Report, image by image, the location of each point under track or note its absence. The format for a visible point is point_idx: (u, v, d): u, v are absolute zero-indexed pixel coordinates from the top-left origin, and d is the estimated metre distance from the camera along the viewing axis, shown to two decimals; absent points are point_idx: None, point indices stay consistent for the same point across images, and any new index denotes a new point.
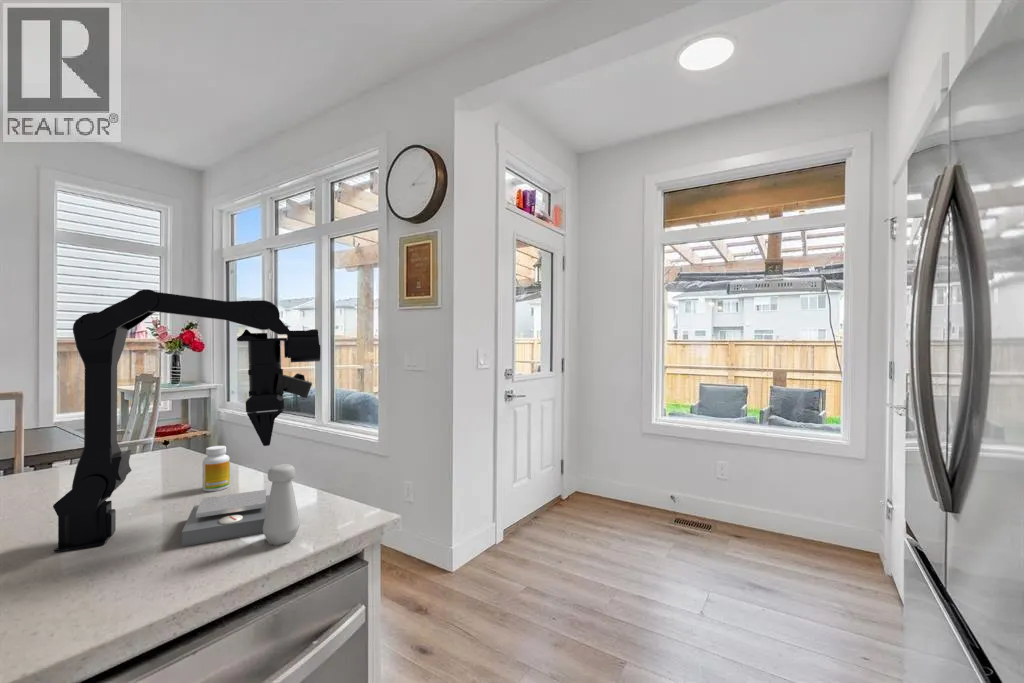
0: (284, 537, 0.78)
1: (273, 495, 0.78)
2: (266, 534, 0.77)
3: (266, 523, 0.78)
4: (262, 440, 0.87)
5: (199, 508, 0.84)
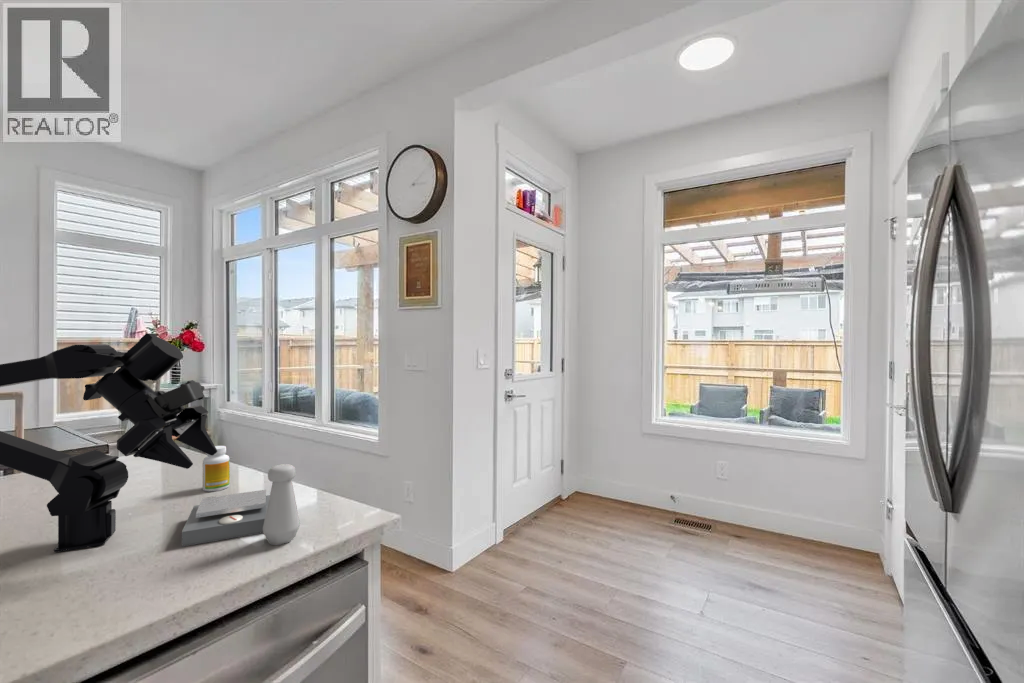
0: (284, 537, 0.78)
1: (273, 495, 0.78)
2: (267, 534, 0.77)
3: (266, 523, 0.78)
4: (180, 465, 0.77)
5: (199, 508, 0.84)
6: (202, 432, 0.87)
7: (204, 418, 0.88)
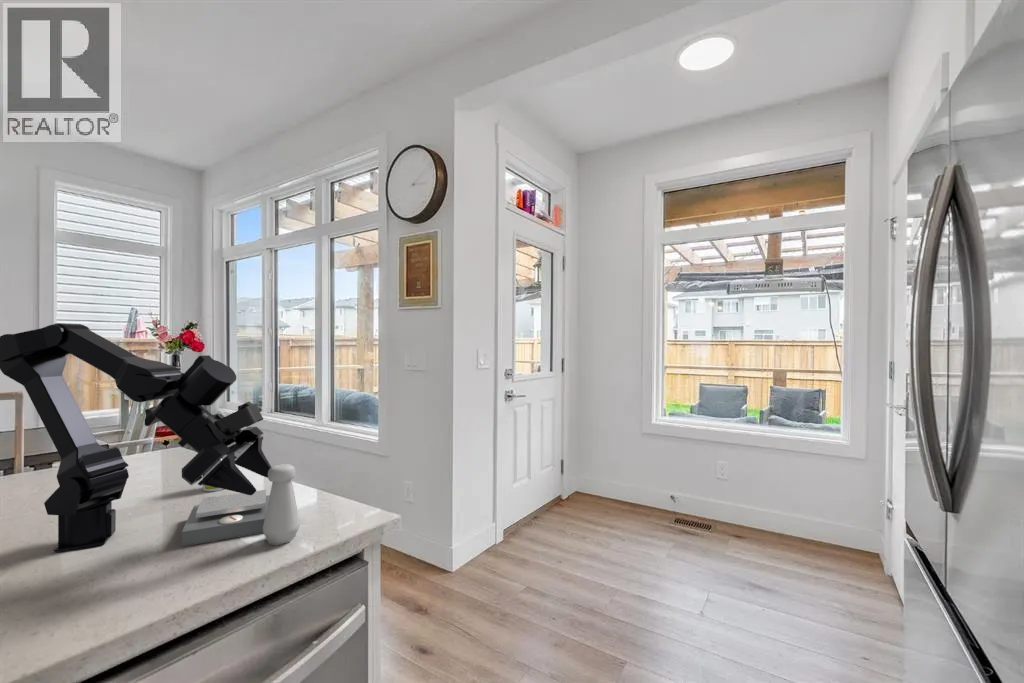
0: (284, 537, 0.78)
1: (273, 495, 0.78)
2: (267, 534, 0.77)
3: (266, 523, 0.78)
4: (244, 492, 0.74)
5: (199, 508, 0.84)
6: (260, 455, 0.84)
7: (260, 440, 0.85)
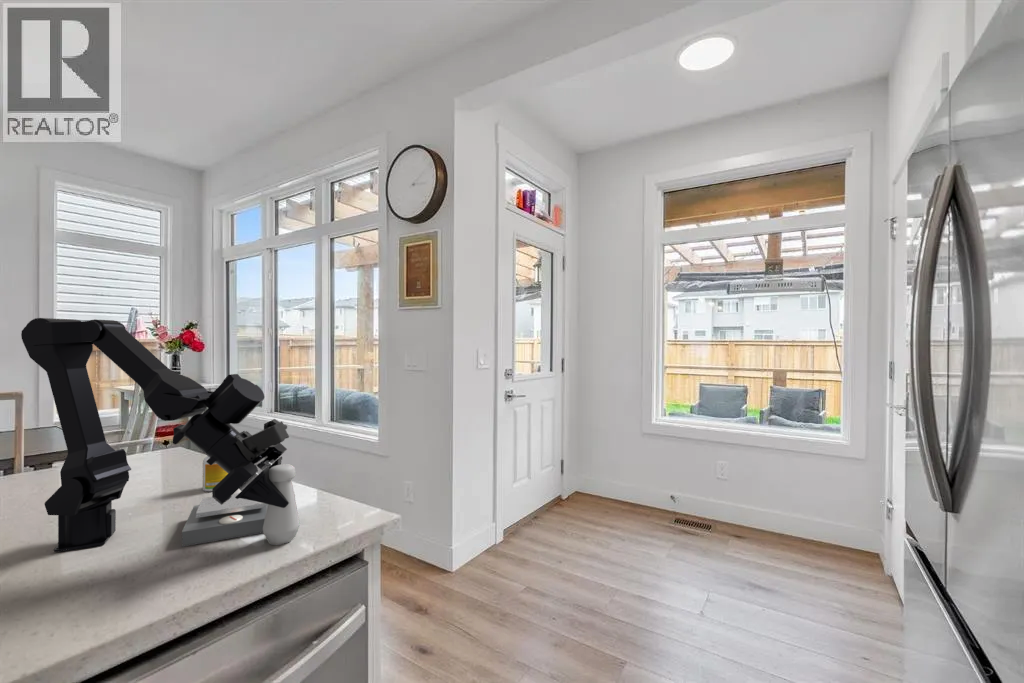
0: (284, 537, 0.78)
1: None
2: (267, 534, 0.77)
3: (266, 523, 0.78)
4: (277, 505, 0.78)
5: (199, 508, 0.84)
6: None
7: (280, 460, 0.83)
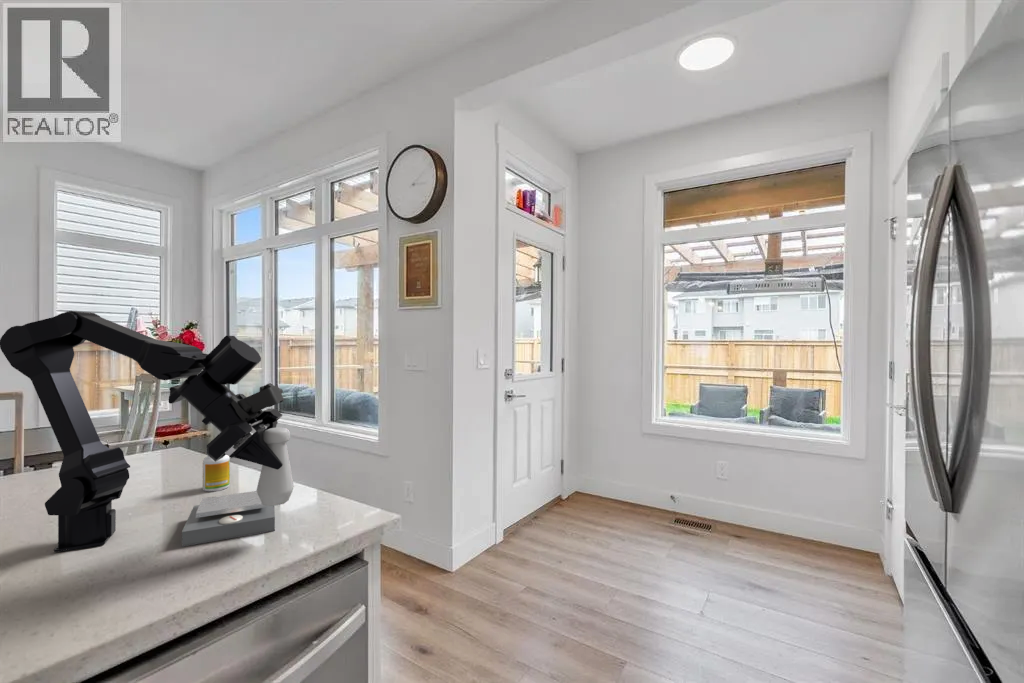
0: (278, 499, 0.79)
1: None
2: (260, 495, 0.78)
3: (260, 484, 0.78)
4: (271, 466, 0.78)
5: (199, 508, 0.84)
6: None
7: (275, 424, 0.84)
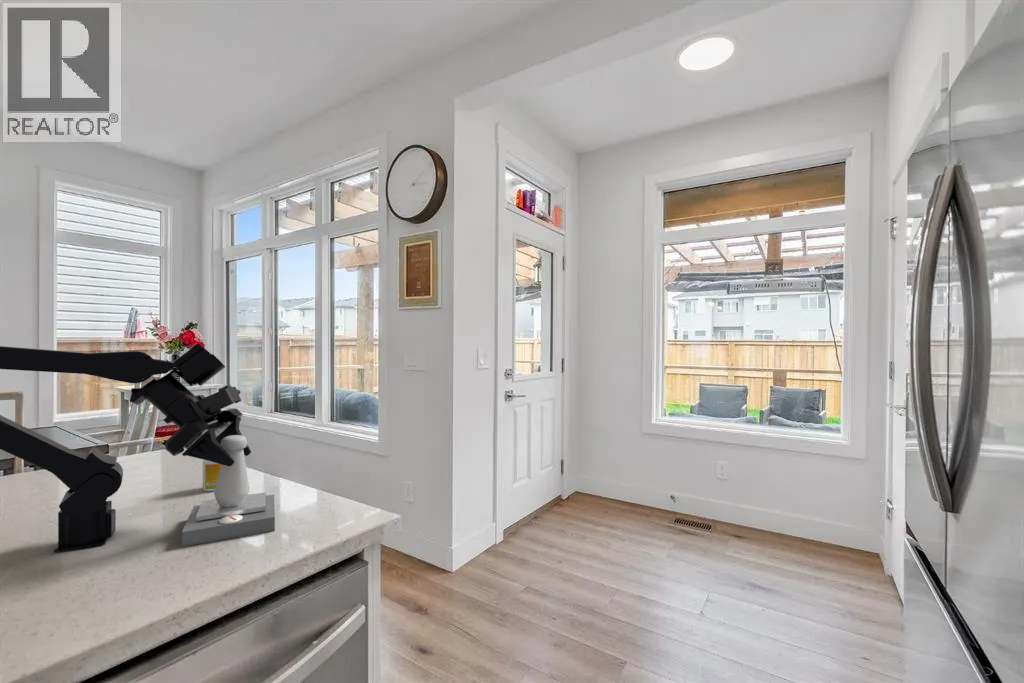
0: (232, 501, 0.86)
1: None
2: (217, 497, 0.85)
3: (217, 487, 0.86)
4: (223, 463, 0.84)
5: (199, 511, 0.84)
6: (237, 434, 0.92)
7: (238, 421, 0.94)
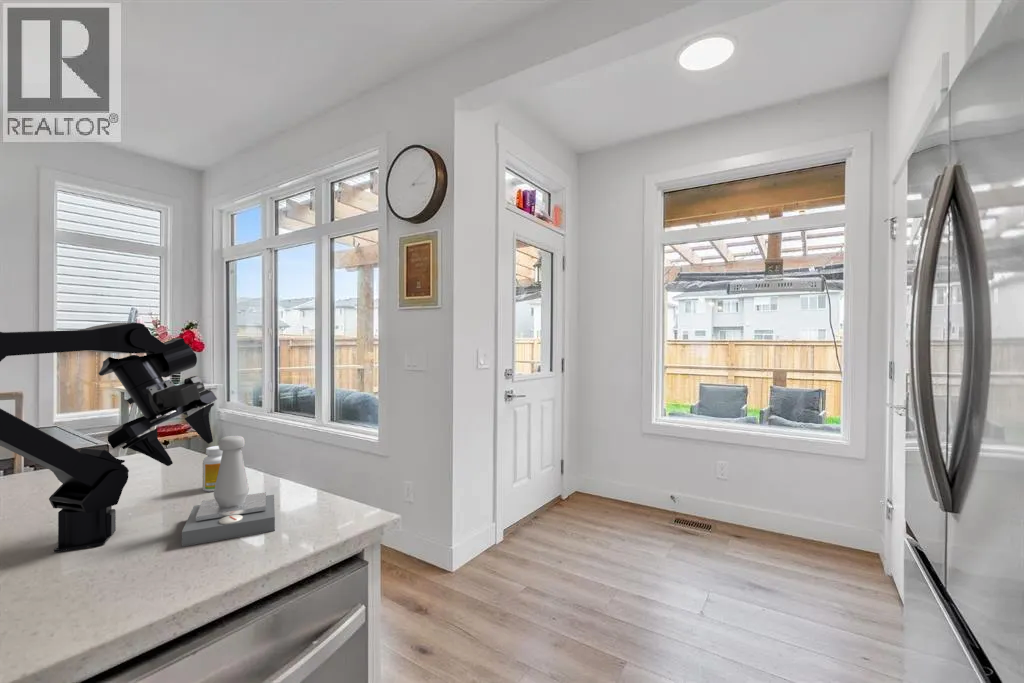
0: (232, 501, 0.86)
1: (222, 462, 0.86)
2: (216, 497, 0.85)
3: (216, 488, 0.86)
4: (161, 462, 0.84)
5: (199, 511, 0.84)
6: (203, 421, 0.93)
7: (208, 407, 0.94)
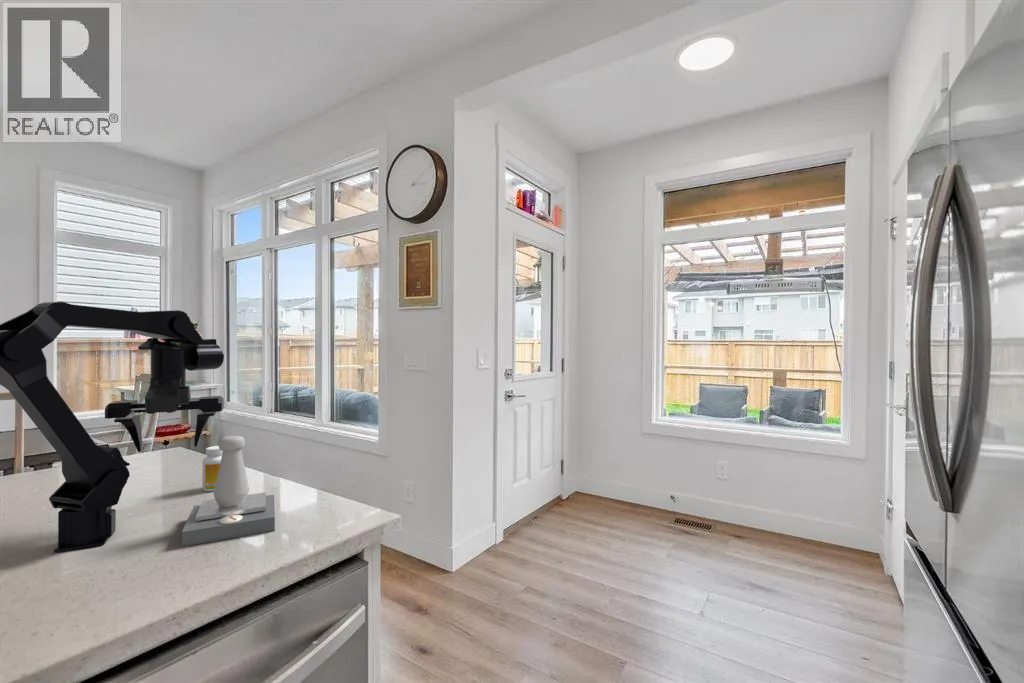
0: (232, 501, 0.86)
1: (222, 462, 0.86)
2: (216, 497, 0.85)
3: (216, 487, 0.86)
4: None
5: (199, 511, 0.84)
6: (196, 425, 0.94)
7: (204, 416, 0.93)
